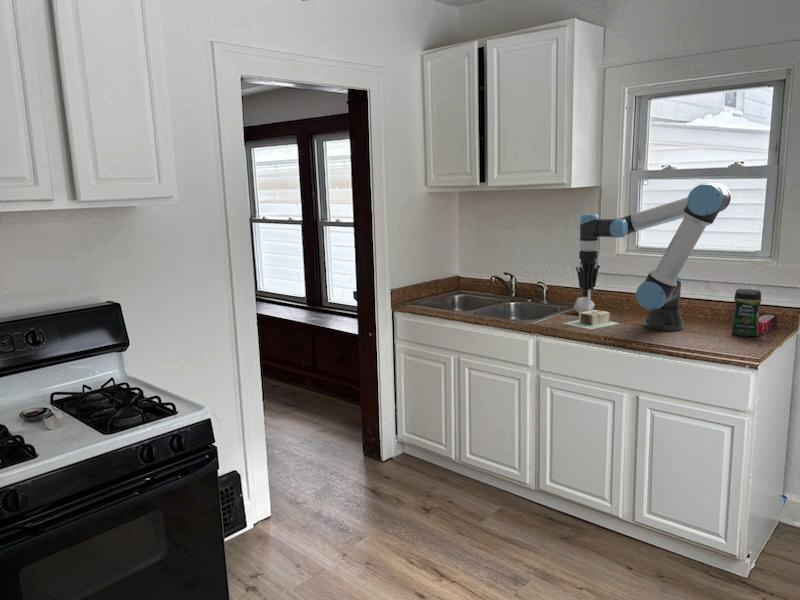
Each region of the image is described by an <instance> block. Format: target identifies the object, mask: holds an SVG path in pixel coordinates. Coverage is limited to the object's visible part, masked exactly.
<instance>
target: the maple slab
mask: <svg viewBox="0 0 800 600" xmlns="http://www.w3.org/2000/svg"><path fill="white" fill-rule="evenodd" d="M578 320H579V323H582V324H587V325H592V326H595V325H600V324H604V323H609V322H611V312H610V311H609V312H608V311H603V310H600V309H599V310H598V309H593V310H592V311H587V312H581V313H579V314H578Z"/></svg>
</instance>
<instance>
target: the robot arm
mask: <svg viewBox="0 0 800 600" xmlns="http://www.w3.org/2000/svg"><path fill="white" fill-rule="evenodd" d="M731 199H732V195H731V191H730V190H729V188H728V186H726V185H724V184H722V183H720V182H719V183H718V182H711V183H710V182H704V183H700V184H698V185H696V186H695V187H693V189H691V190H690V191H689V193H688V196H687V197H684V198H681V199H678V200H675V201H671V202H668V203H665V204H661V205H659V206H658V205H657V206H656V207H652V208H648V209H646V210H642V211H639V212H636V213H633V214H629V215H627V216H623V217H619V218H610V219H609V218H604V219H603V218H600V216H599V215H598V214H597V213H584V214H581V215H580V221H579V252H578V253H579V255H578V257H579V258H578V259H579V260H580V262H579V266H576V267H575V270H576V272H577V278H578V286H579V289H581V290H582V297H584V298H583V304H588V305H589V304H591V301H592V300H591V299H592V290H594V289H595V287H596V284H597V278H598V274H599V273H598V272H599V270H600V267H601V265H599V264H597V262H596V260H597V259H598V249H599V244H598V243H599V238H601V237H602V238H616V239H617V238H618V239H619V238H625V237H626V236H627V235H630V234H633V233H636V232H638V231H642V230H646V229H649V228H653V227H657V226H659V225H663V224H667V223H670V222H673V221H676V220H680V219H682V221H681V223H680V224H679V227H678V228H677V230H676V232H675V233H674V236H673V237H672V239H671V241H670V243H669V244H668V246H667V248H666V249H665V252H664V253H663V255H662V256H661V258H660V261H659V262H658V264H657V266H656V268H655V269H652V270H650V271H649V273H648V274H647V276H646V278H645V280H644V281H643V282H642V283H641V284H640V285H638V287H637V289H636V291H635V297H636V301H637V303H638V304H639V305H640V306H641V308H644V309H646V310H649V311H648V314H647V316H646V319H645V321H644V327H645V328H646V329H649V330H653V331H663V332H672V331H673V332H675V331H676V332H677V331H681V330H683V329H684V322H683V318H682V315H681V311H680V306H681V289H682V278H681V276H680V275H679V274H680V272H681V271H682V269H683V268H684V266H685V264H686V262H687V261H688V259H689V257H690V255H691V253H692V251H693V250H694V248H695V246H696V245H697V243H698V241H699V240H700V238H701V236H702V234H703V233H704V231H705V228H706V227H707V226H709V225H713V223H714V222H715V220H716V218H717V216H718V215H719V213H721V212H724V210H726V208H728V206H729V205H730V203H731Z"/></svg>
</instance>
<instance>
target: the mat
mask: <svg viewBox="0 0 800 600" xmlns="http://www.w3.org/2000/svg"><path fill="white" fill-rule="evenodd" d="M562 324H565V325H568V326H569V325H570V326H573V327H578V328H579V327H580V328H582V329H583V328H584V329H587V330H595V329H599V328H604V327H609V326H614V325H619V324H620V323H619V322H614V321H610V322H609V323H604V324H600V325H595V326H592V325H587V324H582V323H579V319H576V320H573V321H568V322H562Z"/></svg>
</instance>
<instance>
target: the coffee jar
mask: <svg viewBox="0 0 800 600" xmlns="http://www.w3.org/2000/svg"><path fill="white" fill-rule="evenodd" d="M733 300H734V305H735V308H734V316H733V321H732V325H731V333H732V334H733V335H735V336H740V335H741V336H740V337H749V336H753V337H757V336H758V335H759V333H758V326H759V325H760V323H759V313H760V312H759V310H760V308H759V307H760V305H761V303H762V292H761V290H760V289H759V290H757V289H750V288H749V289H748V288H738V289H736V290H735V294H734V297H733ZM759 327H760V326H759Z"/></svg>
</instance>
